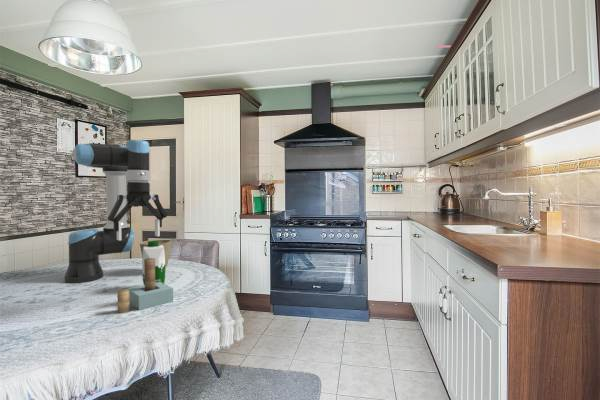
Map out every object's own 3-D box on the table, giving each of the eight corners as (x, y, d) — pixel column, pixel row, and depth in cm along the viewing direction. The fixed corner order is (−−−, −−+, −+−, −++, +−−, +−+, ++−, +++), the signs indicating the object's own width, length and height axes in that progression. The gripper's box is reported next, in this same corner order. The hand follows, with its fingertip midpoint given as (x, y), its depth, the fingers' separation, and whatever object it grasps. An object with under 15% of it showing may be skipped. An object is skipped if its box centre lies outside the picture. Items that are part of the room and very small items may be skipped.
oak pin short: (116, 311, 106) (116, 291, 106) (127, 308, 109) (127, 288, 109) (119, 314, 104) (119, 293, 104) (131, 311, 106) (130, 291, 106)
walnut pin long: (143, 301, 116) (142, 259, 115) (153, 299, 118) (152, 257, 118) (147, 304, 113) (146, 260, 113) (157, 301, 116) (156, 259, 115)
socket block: (127, 301, 115) (127, 288, 115) (160, 294, 124) (160, 281, 124) (139, 310, 107) (138, 295, 107) (173, 301, 116) (173, 288, 116)
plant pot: (162, 267, 168) (161, 238, 167) (178, 271, 159) (177, 241, 159) (134, 273, 156) (133, 242, 155) (149, 278, 147) (149, 245, 146)
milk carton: (164, 284, 137) (164, 239, 137) (166, 290, 129) (165, 242, 129) (142, 287, 133) (141, 241, 133) (142, 293, 125) (141, 244, 125)
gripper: (103, 181, 103) (104, 243, 104) (175, 182, 122) (175, 235, 123) (97, 181, 109) (97, 240, 109) (167, 182, 127) (167, 233, 128)
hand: (139, 237), depth 116 cm, fingers open, 13 cm apart
